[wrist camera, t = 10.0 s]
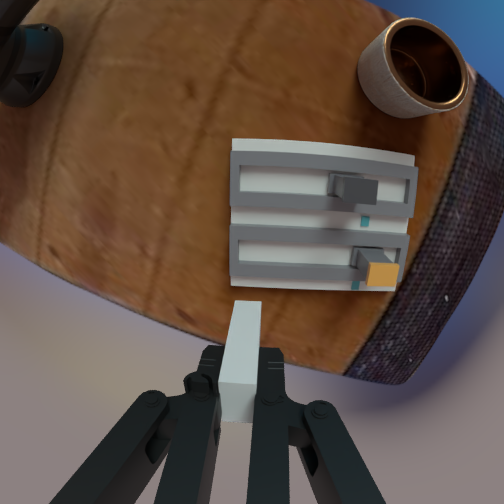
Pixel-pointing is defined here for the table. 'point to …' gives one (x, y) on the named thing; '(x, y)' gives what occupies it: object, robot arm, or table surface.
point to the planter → (413, 70)
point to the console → (313, 213)
